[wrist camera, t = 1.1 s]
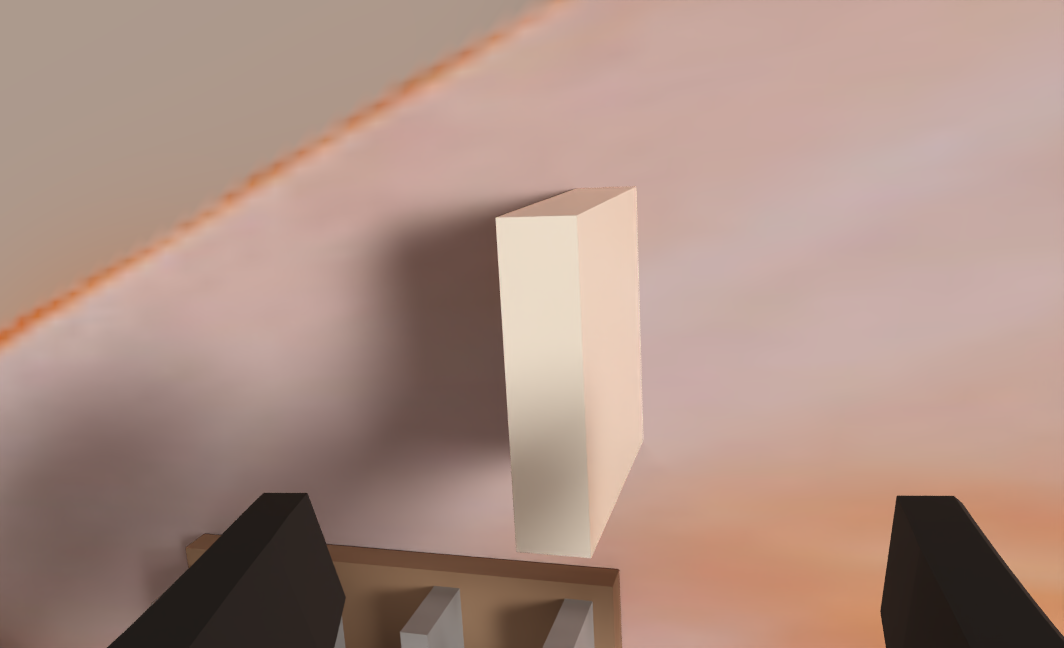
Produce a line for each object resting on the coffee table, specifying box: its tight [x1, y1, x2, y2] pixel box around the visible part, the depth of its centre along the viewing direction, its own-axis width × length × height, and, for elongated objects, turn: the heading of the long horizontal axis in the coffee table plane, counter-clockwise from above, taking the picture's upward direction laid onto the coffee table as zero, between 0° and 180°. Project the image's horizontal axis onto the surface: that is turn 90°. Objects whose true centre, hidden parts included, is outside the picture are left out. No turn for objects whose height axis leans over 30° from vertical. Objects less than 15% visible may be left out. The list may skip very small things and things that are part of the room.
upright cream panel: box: [496, 186, 643, 558], centre depth 21 cm, size 7×2×7 cm, turn 3°
